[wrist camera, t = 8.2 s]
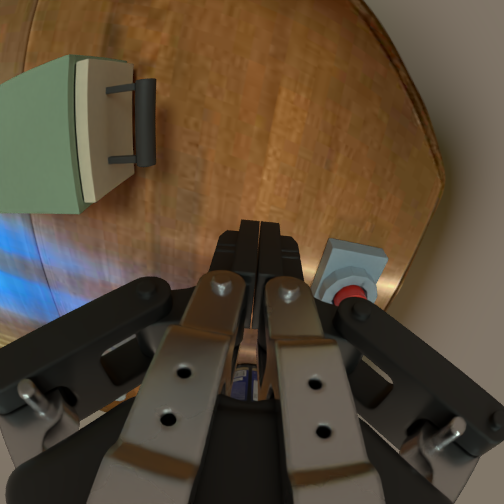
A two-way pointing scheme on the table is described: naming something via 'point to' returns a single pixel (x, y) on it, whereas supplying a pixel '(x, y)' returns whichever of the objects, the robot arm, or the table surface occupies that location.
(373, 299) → the control block
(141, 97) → the drawer
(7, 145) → the cabinet casing
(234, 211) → the table surface
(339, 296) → the button
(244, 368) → the pill bottle
